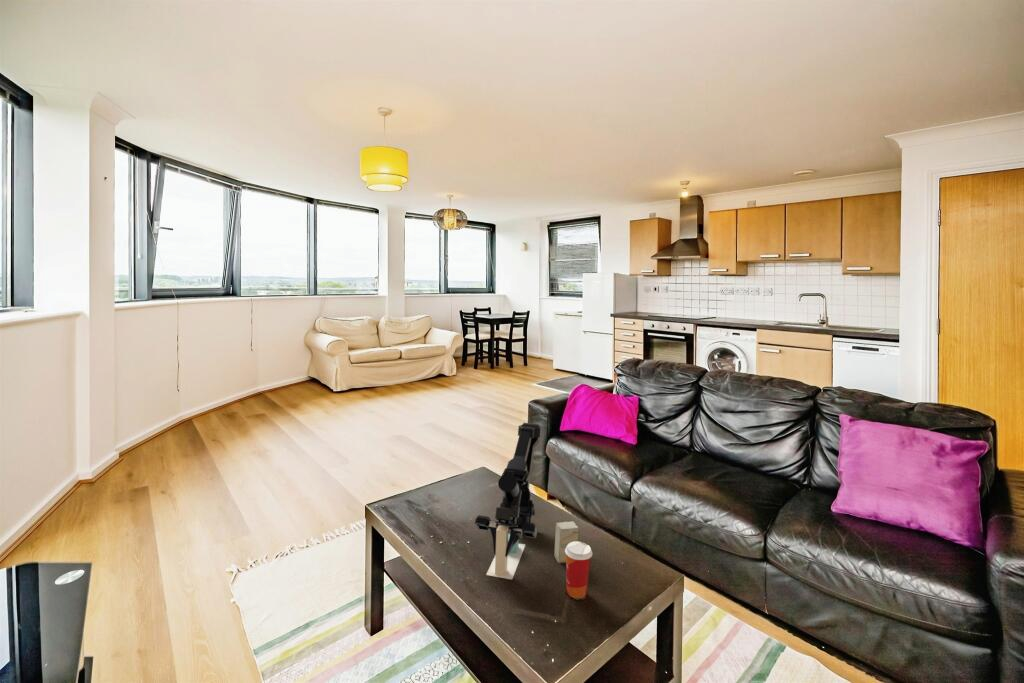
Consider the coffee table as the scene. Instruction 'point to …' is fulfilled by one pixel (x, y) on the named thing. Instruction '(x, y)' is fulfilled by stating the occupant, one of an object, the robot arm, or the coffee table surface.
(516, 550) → the teal block
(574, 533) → the skincare box
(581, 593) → the paper cup
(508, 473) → the robot arm
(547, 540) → the coffee table surface
